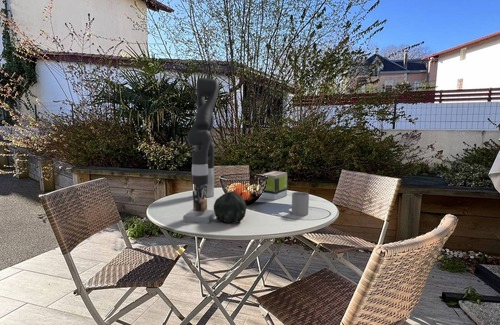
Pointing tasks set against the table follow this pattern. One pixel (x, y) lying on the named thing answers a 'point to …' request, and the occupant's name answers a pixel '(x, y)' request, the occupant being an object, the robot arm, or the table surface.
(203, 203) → the walnut cube
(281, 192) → the tea box
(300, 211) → the cup
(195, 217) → the stone coaster
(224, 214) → the squash
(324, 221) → the table surface
